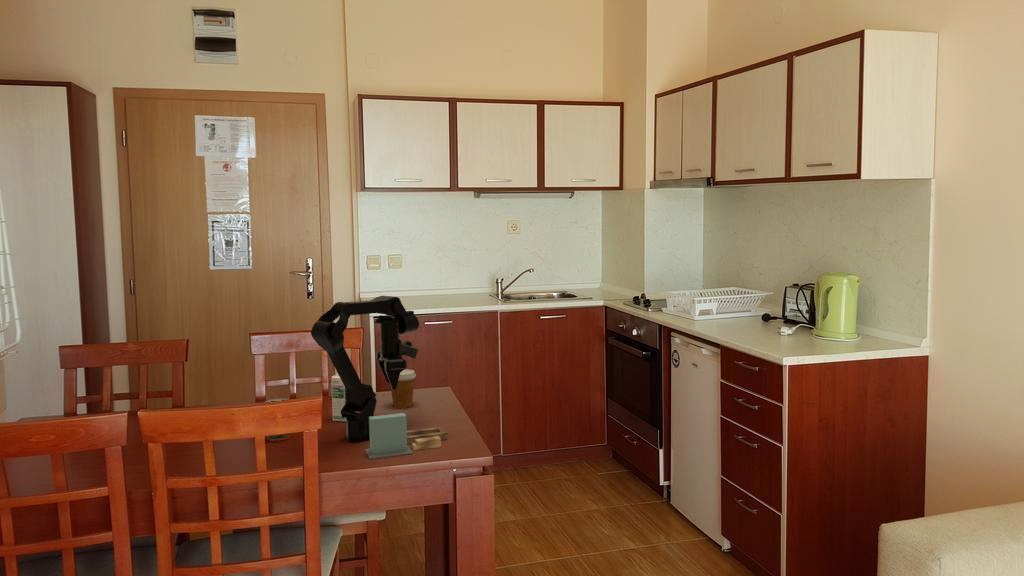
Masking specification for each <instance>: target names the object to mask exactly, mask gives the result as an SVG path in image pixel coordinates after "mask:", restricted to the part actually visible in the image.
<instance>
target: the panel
mask: <svg viewBox="0 0 1024 576" xmlns="http://www.w3.org/2000/svg"><path fill="white" fill-rule="evenodd" d="M407 419H408V418H407V414H405V412H402V413H399V412H398V413H392V414H383V415H374V416H372V417H369V435H370V440H369V449H370V452H371V454H372V455H373V454H381V453H389V452H397V451H405V450H407V431H408V429H407V428H408V426H407V421H408V420H407Z"/></svg>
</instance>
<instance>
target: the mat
mask: <svg viewBox="0 0 1024 576" xmlns="http://www.w3.org/2000/svg"><path fill="white" fill-rule="evenodd" d="M364 452H365V453H366V455H367V456H368V459H369V460H376V459H383V458H384V459H385V458H391V457H392V458H393V457H399V456H409V455H413V454H414V452H413V451H412V449H411V448H410V446H409V444H408V445H407V450H405V451H397V452H389V453H381V454H373V455H372V454H371V452H370V448H365V449H364ZM408 454H409V455H408Z"/></svg>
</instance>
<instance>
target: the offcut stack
mask: <svg viewBox="0 0 1024 576" xmlns="http://www.w3.org/2000/svg"><path fill="white" fill-rule="evenodd" d="M411 448H412V449H413V451H421V450H428V449H429V448H430V449H437V448H442V440H441V438H440V437H439V436H434V437H427V438H420V439H415V443H412V444H411Z"/></svg>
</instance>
